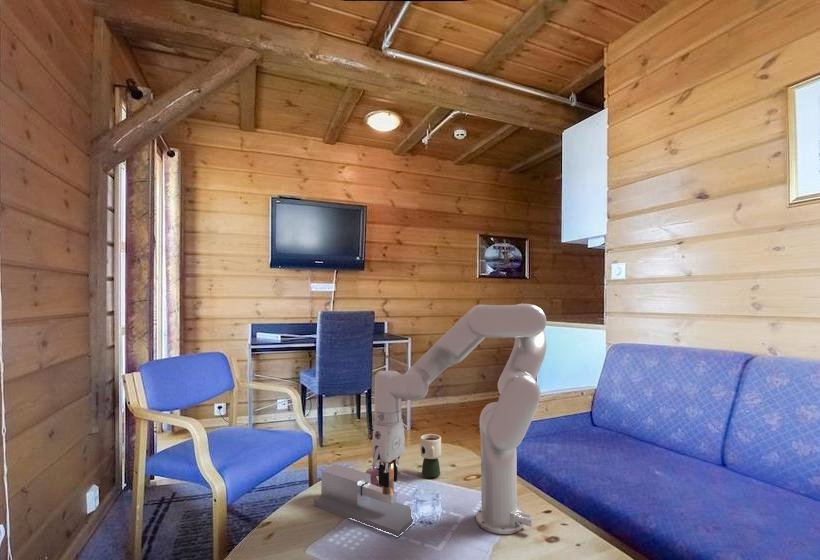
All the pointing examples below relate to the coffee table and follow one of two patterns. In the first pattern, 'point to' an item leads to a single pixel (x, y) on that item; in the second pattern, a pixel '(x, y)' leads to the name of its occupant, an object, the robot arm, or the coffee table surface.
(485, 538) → the coffee table surface
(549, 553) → the coffee table surface
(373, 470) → the video game controller
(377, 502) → the base board
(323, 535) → the coffee table surface
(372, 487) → the shaft
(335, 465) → the block
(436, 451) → the character mug
